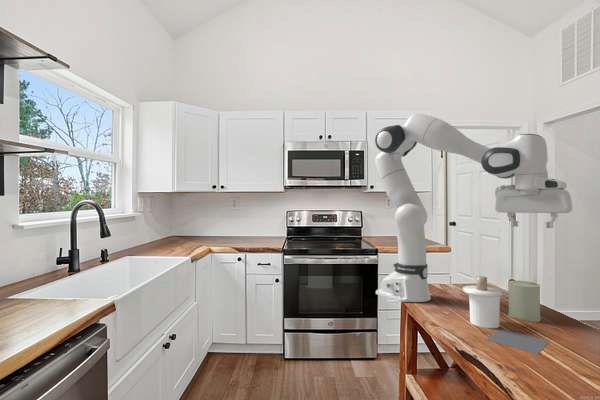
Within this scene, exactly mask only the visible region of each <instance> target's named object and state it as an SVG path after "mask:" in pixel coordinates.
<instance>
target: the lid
mask: <svg viewBox="0 0 600 400" xmlns="http://www.w3.org/2000/svg"><path fill="white" fill-rule="evenodd" d="M475 278H476V279H475V280H476V282H475V283H476V285H465V286H464V285H463V287H462V292H463V293H464V294H466V295H468V296H469V295H473V296H479V297H491V298H492V297H500V298H501V297H502V296H503V291H502V290H501V289H498V288H496V287H491V286H488V277H487V276H484V275H483V276H482V275H477V276H476V277H475Z"/></svg>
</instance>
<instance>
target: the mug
mask: <svg viewBox="0 0 600 400" xmlns="http://www.w3.org/2000/svg"><path fill="white" fill-rule="evenodd" d="M468 301H469V303H468V304H469V321H470V324H472V325H473V326H476V327H479V328H484V329H498V328H499V327H500V311H501V310H500V303H501V296H500V297H492V298H491V297H479V296H473V295H469V294H468Z"/></svg>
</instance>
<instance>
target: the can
mask: <svg viewBox="0 0 600 400" xmlns="http://www.w3.org/2000/svg"><path fill="white" fill-rule="evenodd" d="M507 285H508V286H507V289H508V313H507V315H508V317H509V318H515V319H518V320H523V321H527V322H532V323H537V322H541V321H542V318H541V284H539V283H537V282H532V281H528V280H508V281H507Z"/></svg>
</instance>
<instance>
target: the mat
mask: <svg viewBox="0 0 600 400" xmlns="http://www.w3.org/2000/svg"><path fill="white" fill-rule="evenodd" d="M485 340H486V341H489V342H491V343H495V344H498V345H503V346H506V347H509V348H513V349H515V350H516V349H518V350H520V351H524V352H528V353H531V354H535V355H539V354H540V353H541V352H542V350H543V349H544V348H545V347H547V345H548V344H549V343H550V340H546V339H543V338H540V337H535V336H531V335H527V334H523V333H519V332H515V331H514V332H513V331H510V330H506V329H503V328H500V329H499V330H498V331H495V332H494V333H493V334H492V335H490V336H489V337H488V338H486V339H485Z"/></svg>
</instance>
